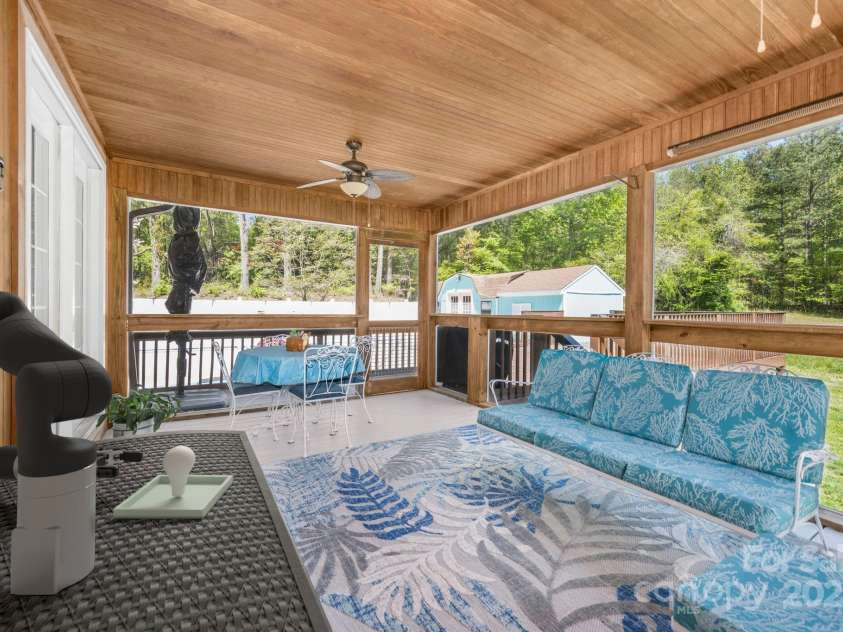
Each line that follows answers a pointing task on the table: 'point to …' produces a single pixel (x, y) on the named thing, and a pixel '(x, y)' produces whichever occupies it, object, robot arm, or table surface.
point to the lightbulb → (178, 468)
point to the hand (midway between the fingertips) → (130, 463)
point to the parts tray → (175, 498)
